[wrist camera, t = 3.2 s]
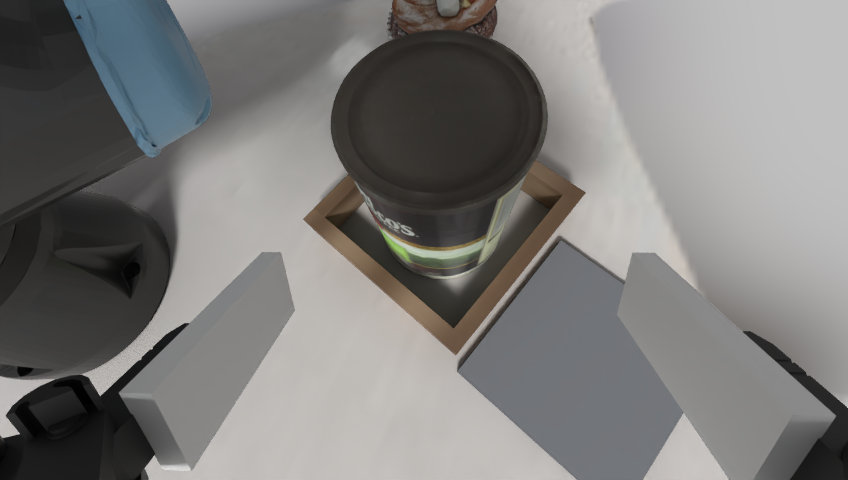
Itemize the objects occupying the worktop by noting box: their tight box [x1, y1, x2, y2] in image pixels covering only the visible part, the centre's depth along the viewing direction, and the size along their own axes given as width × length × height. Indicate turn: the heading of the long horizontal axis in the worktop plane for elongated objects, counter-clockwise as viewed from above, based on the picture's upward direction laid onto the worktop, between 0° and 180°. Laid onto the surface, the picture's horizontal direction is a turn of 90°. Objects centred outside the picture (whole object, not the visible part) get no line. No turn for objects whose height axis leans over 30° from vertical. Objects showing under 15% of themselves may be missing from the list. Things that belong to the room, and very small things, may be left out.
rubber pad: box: [457, 240, 684, 480], centre depth 25 cm, size 13×13×1 cm
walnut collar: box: [303, 160, 586, 355], centre depth 29 cm, size 15×15×3 cm
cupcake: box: [387, 0, 497, 41], centre depth 31 cm, size 10×10×10 cm
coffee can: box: [331, 30, 548, 279], centre depth 23 cm, size 10×10×14 cm
